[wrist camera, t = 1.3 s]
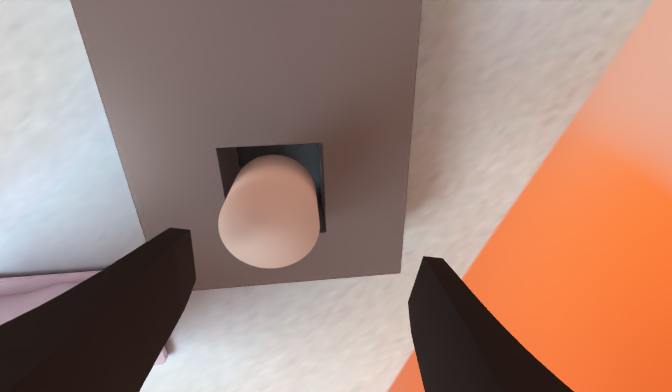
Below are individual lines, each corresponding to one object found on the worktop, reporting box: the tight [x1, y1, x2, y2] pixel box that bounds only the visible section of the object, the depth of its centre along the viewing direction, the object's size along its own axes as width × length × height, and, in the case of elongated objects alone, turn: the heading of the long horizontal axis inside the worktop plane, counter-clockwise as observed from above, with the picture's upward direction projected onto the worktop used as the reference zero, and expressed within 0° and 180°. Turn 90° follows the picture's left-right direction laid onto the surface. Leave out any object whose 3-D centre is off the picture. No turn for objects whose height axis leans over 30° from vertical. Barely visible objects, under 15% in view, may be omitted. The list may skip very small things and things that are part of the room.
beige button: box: [218, 155, 320, 268], centre depth 13 cm, size 4×4×3 cm
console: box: [70, 0, 422, 291], centre depth 14 cm, size 12×20×4 cm, turn 1°
